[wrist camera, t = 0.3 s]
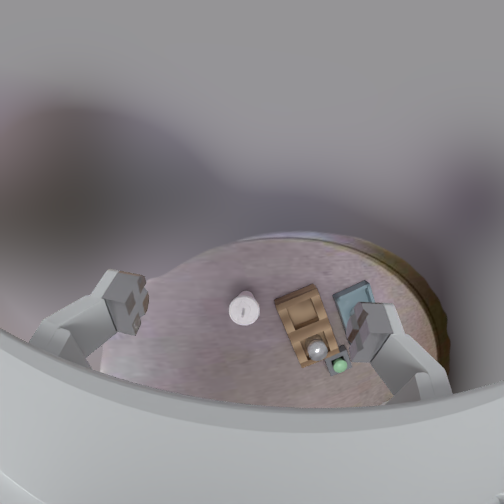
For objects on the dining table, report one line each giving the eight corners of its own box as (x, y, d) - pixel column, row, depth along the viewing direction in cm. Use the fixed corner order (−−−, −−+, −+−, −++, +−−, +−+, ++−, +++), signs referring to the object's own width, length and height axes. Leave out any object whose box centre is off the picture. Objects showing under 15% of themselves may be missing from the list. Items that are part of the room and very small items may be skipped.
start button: (345, 362, 65) (348, 369, 62) (332, 368, 65) (335, 374, 62) (341, 352, 65) (345, 358, 61) (329, 358, 65) (332, 364, 62)
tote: (378, 328, 65) (383, 333, 62) (348, 343, 66) (352, 348, 63) (364, 280, 64) (369, 283, 61) (332, 295, 64) (336, 298, 61)
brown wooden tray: (335, 344, 66) (339, 352, 62) (299, 359, 67) (302, 368, 62) (313, 283, 64) (316, 288, 60) (274, 299, 65) (275, 305, 60)
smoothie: (257, 283, 64) (257, 301, 51) (261, 309, 65) (261, 332, 51) (230, 286, 65) (223, 305, 51) (234, 312, 65) (228, 335, 52)
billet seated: (324, 345, 64) (330, 356, 58) (308, 352, 64) (312, 363, 58) (319, 331, 64) (324, 341, 58) (302, 338, 64) (306, 349, 58)
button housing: (348, 361, 67) (352, 367, 64) (328, 370, 67) (331, 376, 64) (343, 344, 66) (346, 349, 63) (322, 353, 66) (324, 359, 63)
